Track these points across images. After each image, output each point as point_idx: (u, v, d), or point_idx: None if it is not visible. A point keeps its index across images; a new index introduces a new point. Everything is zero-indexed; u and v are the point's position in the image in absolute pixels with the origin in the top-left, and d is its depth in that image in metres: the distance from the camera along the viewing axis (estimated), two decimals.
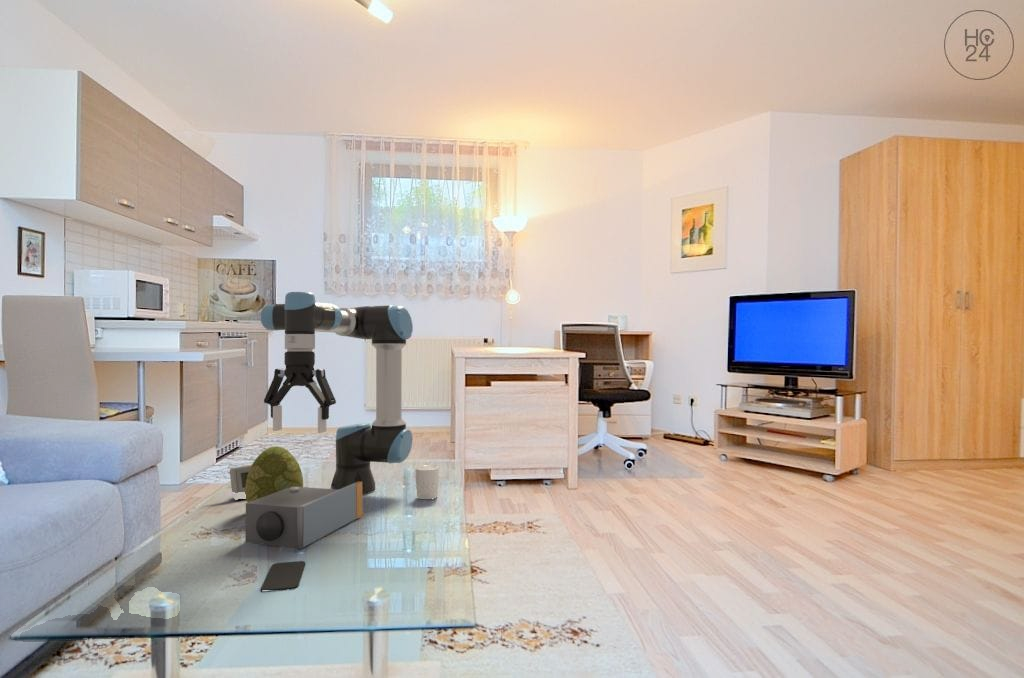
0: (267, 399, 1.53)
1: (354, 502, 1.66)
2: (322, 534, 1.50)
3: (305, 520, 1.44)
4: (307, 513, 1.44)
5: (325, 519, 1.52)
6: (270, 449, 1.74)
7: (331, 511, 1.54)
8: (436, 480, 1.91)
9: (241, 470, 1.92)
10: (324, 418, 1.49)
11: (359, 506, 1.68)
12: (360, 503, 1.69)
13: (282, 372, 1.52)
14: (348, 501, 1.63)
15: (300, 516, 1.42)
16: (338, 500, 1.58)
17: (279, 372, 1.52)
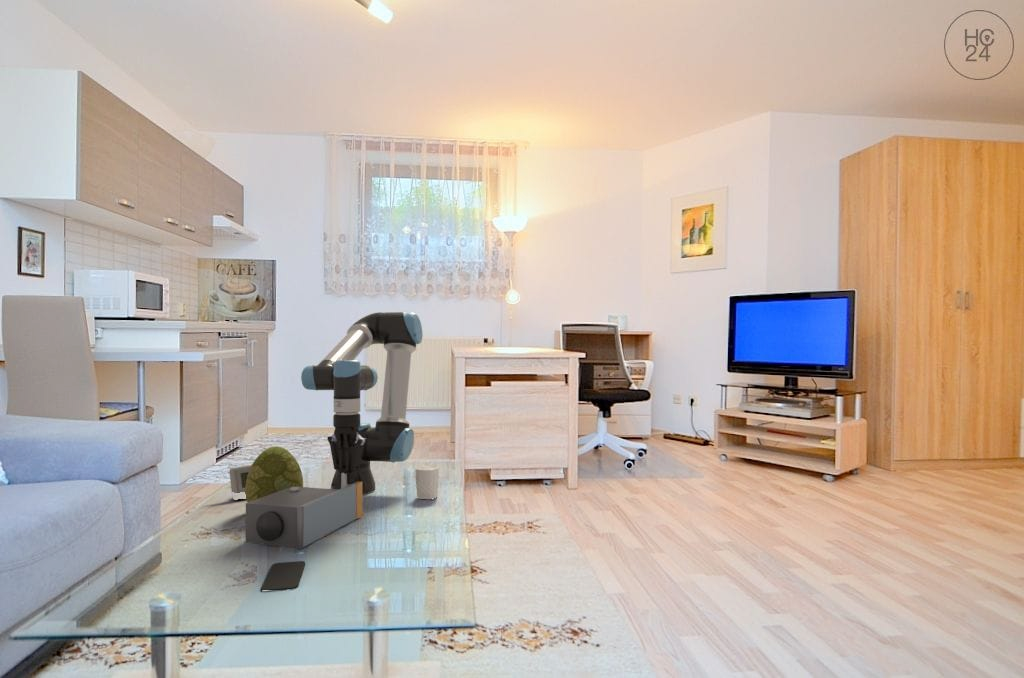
0: (335, 465, 1.66)
1: (354, 502, 1.66)
2: (322, 534, 1.50)
3: (305, 520, 1.44)
4: (307, 513, 1.44)
5: (325, 519, 1.52)
6: (270, 449, 1.74)
7: (331, 511, 1.54)
8: (436, 480, 1.91)
9: (241, 470, 1.92)
10: (348, 483, 1.65)
11: (359, 506, 1.68)
12: (360, 503, 1.69)
13: (333, 436, 1.68)
14: (348, 501, 1.63)
15: (300, 516, 1.42)
16: (338, 500, 1.58)
17: (331, 438, 1.68)
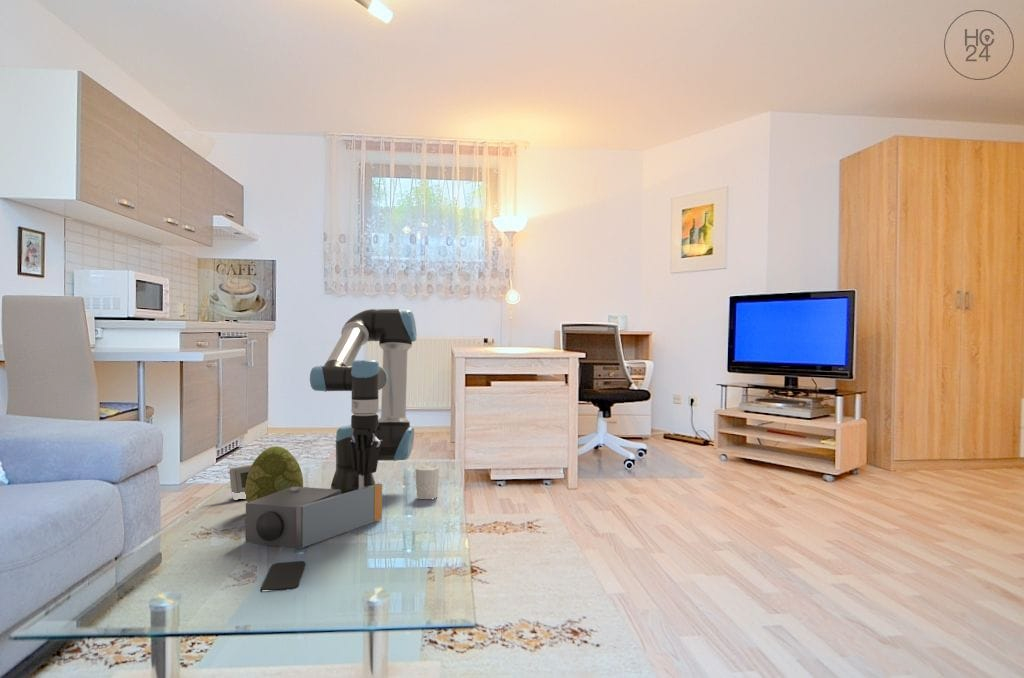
0: (354, 466, 1.65)
1: (371, 504, 1.63)
2: (328, 535, 1.49)
3: (305, 520, 1.43)
4: (307, 514, 1.44)
5: (332, 520, 1.51)
6: (270, 449, 1.74)
7: (339, 513, 1.53)
8: (436, 480, 1.91)
9: (241, 470, 1.92)
10: (365, 485, 1.62)
11: (377, 508, 1.65)
12: (380, 506, 1.66)
13: (353, 437, 1.66)
14: (363, 503, 1.60)
15: (298, 516, 1.42)
16: (349, 501, 1.56)
17: (351, 438, 1.66)
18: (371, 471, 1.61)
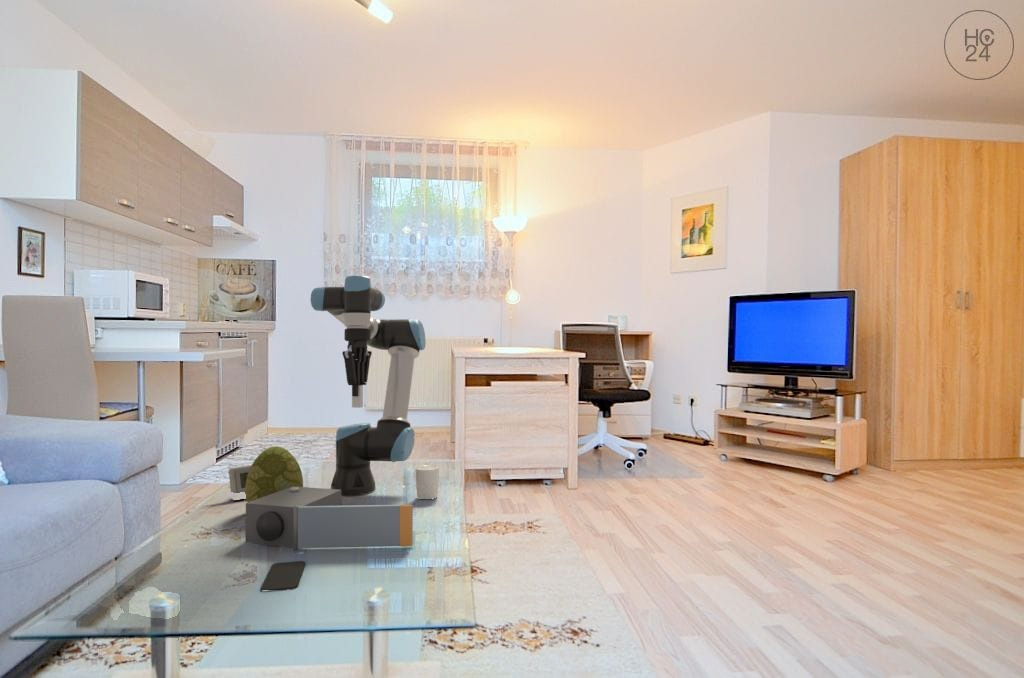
0: None
1: (395, 526, 1.43)
2: (331, 545, 1.42)
3: (301, 522, 1.42)
4: (304, 516, 1.42)
5: (336, 530, 1.42)
6: (270, 449, 1.74)
7: (347, 525, 1.42)
8: (436, 480, 1.91)
9: (240, 470, 1.91)
10: None
11: (404, 533, 1.43)
12: (408, 530, 1.43)
13: None
14: (382, 522, 1.43)
15: (294, 516, 1.42)
16: (361, 516, 1.43)
17: None
18: (349, 381, 1.67)
